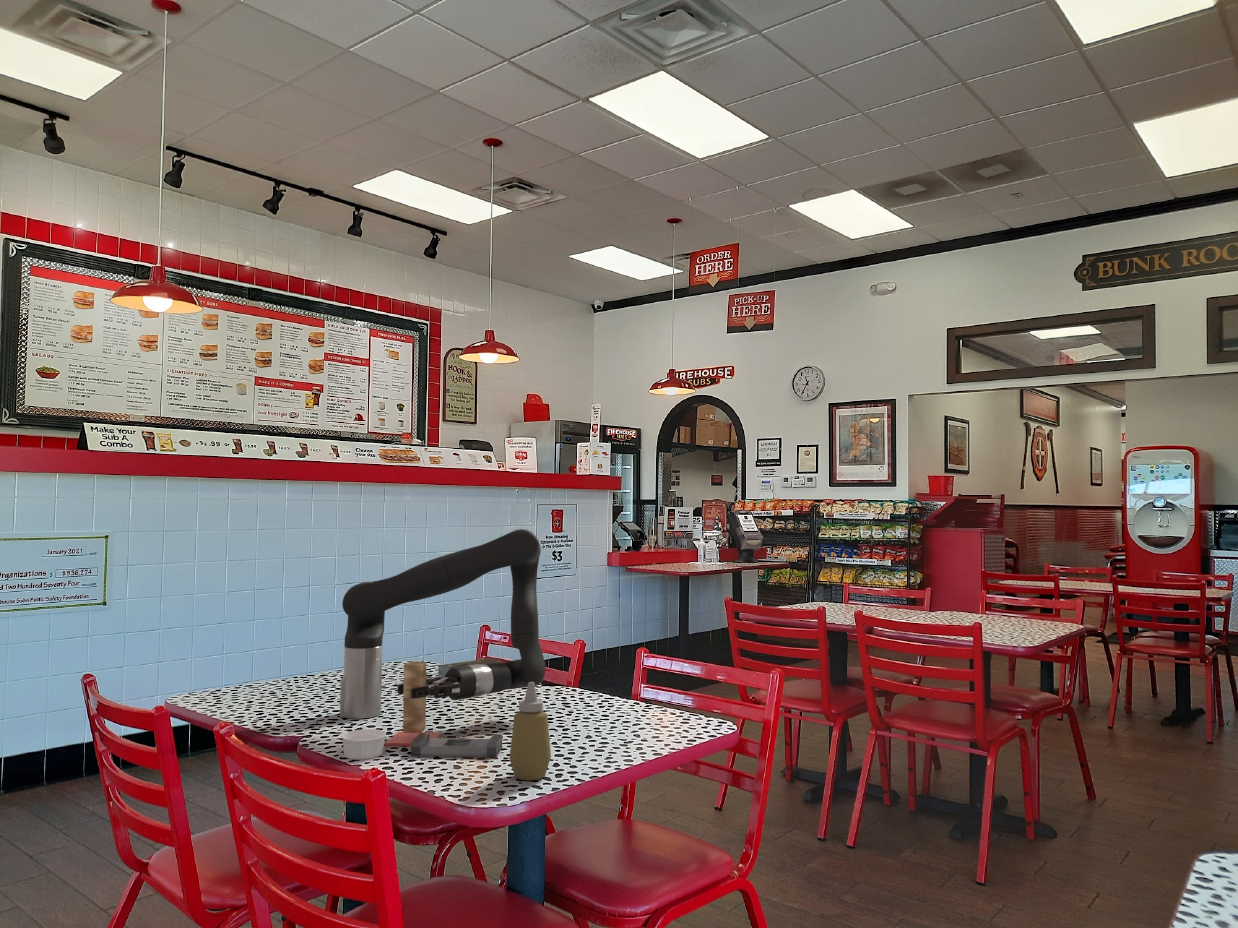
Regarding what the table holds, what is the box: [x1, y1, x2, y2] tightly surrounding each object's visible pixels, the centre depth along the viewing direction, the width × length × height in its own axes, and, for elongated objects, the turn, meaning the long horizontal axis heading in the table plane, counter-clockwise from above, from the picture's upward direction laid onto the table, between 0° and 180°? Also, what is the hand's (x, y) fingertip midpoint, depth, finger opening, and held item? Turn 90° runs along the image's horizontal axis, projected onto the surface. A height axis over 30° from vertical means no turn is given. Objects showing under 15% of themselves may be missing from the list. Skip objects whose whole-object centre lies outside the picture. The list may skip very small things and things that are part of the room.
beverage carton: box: [437, 657, 504, 678], centre depth 258 cm, size 8×19×7 cm, turn 131°
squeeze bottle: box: [509, 682, 552, 781], centre depth 165 cm, size 8×8×18 cm
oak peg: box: [402, 661, 427, 733], centre depth 191 cm, size 4×4×15 cm
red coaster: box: [384, 731, 443, 747], centre depth 191 cm, size 10×10×1 cm
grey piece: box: [410, 733, 503, 758], centre depth 181 cm, size 18×7×3 cm, turn 87°
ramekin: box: [341, 728, 387, 761], centre depth 179 cm, size 9×9×4 cm
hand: (405, 691), depth 190 cm, fingers closed on oak peg, 5 cm apart
